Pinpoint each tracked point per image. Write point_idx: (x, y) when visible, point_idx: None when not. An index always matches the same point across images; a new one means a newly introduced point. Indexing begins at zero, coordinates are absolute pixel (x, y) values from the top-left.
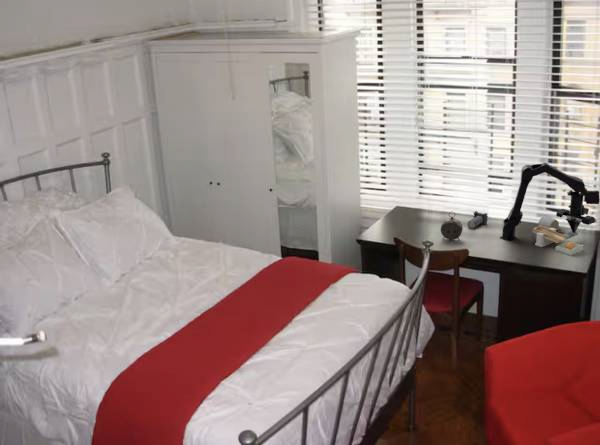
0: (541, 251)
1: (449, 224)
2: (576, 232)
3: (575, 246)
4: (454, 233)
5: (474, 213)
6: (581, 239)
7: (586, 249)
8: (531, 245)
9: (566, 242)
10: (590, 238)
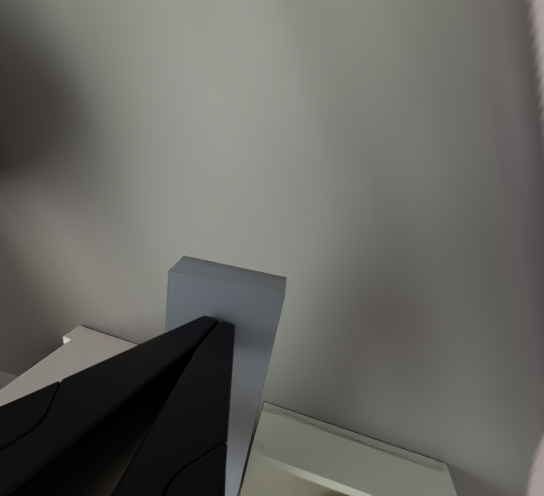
0: None
1: None
2: (252, 302)
3: (360, 463)
4: None
5: None
6: (330, 162)
7: (476, 434)
8: None
9: (255, 458)
10: (449, 19)
